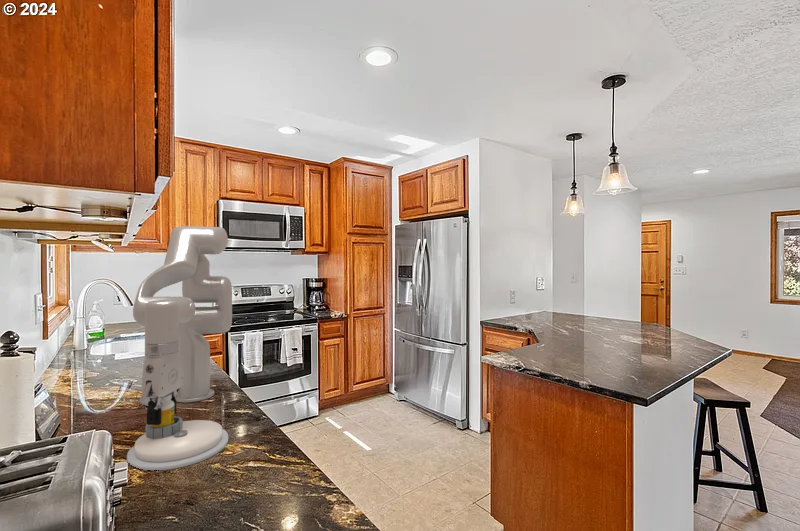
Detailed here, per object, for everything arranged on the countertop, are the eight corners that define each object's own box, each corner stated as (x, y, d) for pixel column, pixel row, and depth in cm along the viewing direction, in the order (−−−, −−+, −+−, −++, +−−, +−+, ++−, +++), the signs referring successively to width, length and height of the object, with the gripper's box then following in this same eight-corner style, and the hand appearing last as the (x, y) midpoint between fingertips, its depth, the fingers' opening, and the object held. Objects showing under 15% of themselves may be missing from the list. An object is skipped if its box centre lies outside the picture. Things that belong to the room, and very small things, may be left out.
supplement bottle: (149, 430, 98) (149, 393, 98) (173, 425, 101) (173, 389, 101) (150, 438, 94) (150, 399, 94) (175, 433, 97) (175, 395, 97)
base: (105, 458, 90) (105, 453, 90) (189, 424, 111) (189, 420, 111) (167, 479, 82) (167, 473, 82) (246, 438, 102) (246, 433, 102)
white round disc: (238, 433, 102) (238, 416, 102) (176, 467, 84) (176, 447, 84) (184, 423, 108) (184, 407, 108) (115, 454, 90) (115, 435, 90)
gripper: (154, 357, 89) (154, 434, 89) (195, 341, 106) (195, 406, 106) (122, 356, 89) (122, 434, 89) (169, 341, 106) (168, 406, 106)
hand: (162, 418), depth 97 cm, fingers closed on supplement bottle, 5 cm apart
